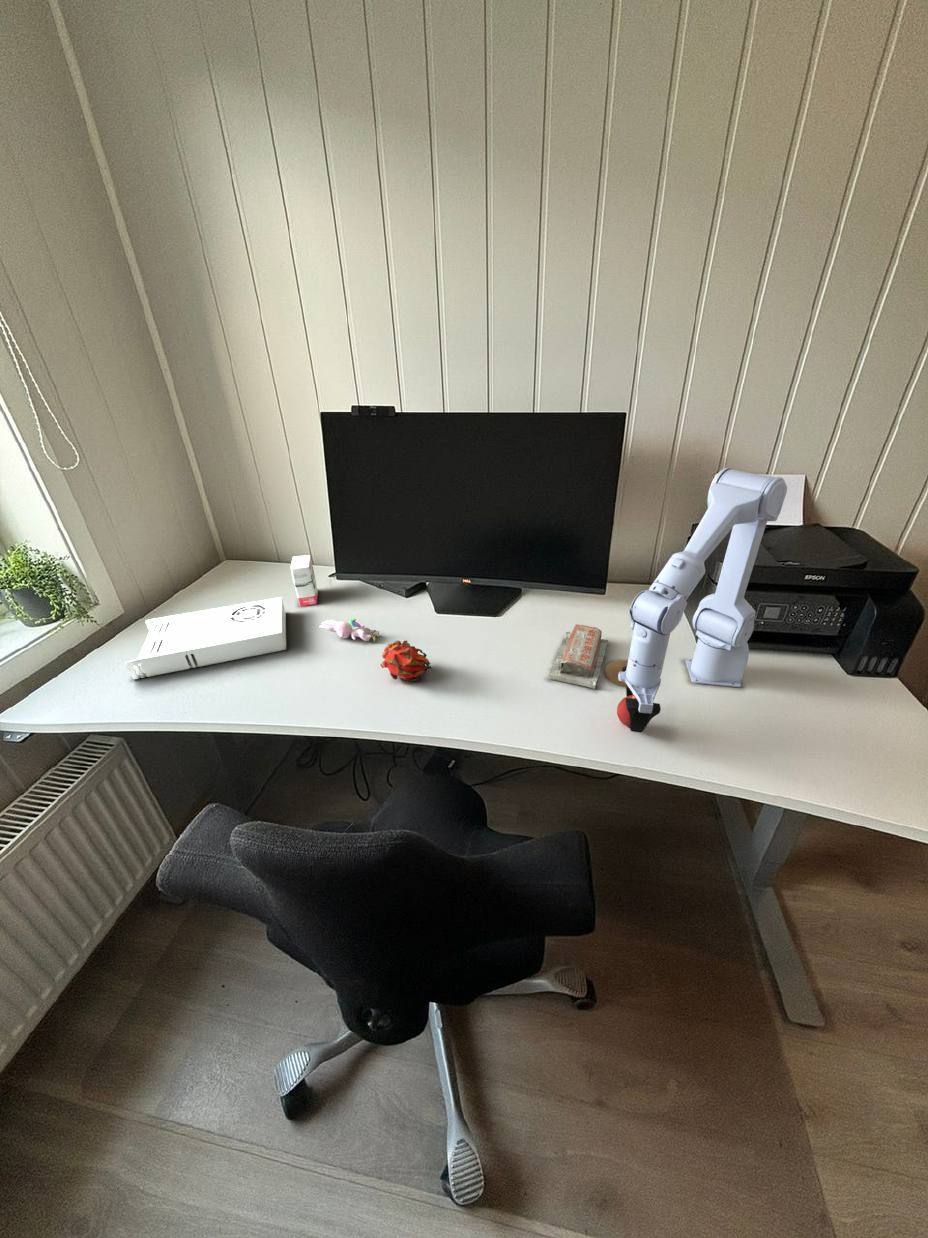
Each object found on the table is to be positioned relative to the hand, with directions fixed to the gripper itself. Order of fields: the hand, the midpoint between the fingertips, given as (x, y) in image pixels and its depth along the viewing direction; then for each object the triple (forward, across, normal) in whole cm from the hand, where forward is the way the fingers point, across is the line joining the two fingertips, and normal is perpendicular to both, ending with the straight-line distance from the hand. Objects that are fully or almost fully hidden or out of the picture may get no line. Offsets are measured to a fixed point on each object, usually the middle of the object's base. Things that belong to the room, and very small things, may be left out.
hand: (634, 716), depth 89 cm
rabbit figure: (+3, -20, -66) cm, 69 cm away
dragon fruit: (+3, -8, -47) cm, 48 cm away
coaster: (+2, -16, 0) cm, 16 cm away
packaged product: (+3, -19, -10) cm, 22 cm away
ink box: (+3, -37, -86) cm, 94 cm away
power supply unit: (+3, -12, -98) cm, 99 cm away
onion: (+3, 0, 0) cm, 3 cm away
